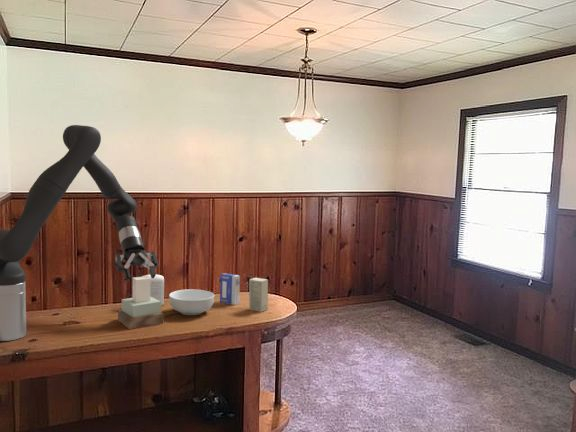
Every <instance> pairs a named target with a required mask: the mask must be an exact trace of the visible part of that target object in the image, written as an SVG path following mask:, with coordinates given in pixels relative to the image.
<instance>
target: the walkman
mask: <svg viewBox="0 0 576 432" xmlns="http://www.w3.org/2000/svg"><path fill="white" fill-rule="evenodd" d="M240 282H241V276H240V275H238V274H233V273H226V272H223V273H220V287H219V288H220V291H219V302H220V303H224V304H229V305H234V306H236V305H239V304H240V292H241V291H240V289H241V287H240V284H241V283H240Z"/></svg>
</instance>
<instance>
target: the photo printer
mask: <svg viewBox="0 0 576 432" xmlns="http://www.w3.org/2000/svg"><path fill="white" fill-rule="evenodd" d="M143 276H147V277H149V278H151V275H150V274H146V275H142V276H141V277H143ZM150 296H151V297H153V298H155V299H157V300H159V301H161V306H163V305H165V304H164V302H165V299H164V298H165V278H164V275H160V274H157V273H156V275H155V277H154V278H151V282H150Z"/></svg>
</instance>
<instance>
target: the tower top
mask: <svg viewBox="0 0 576 432" xmlns="http://www.w3.org/2000/svg"><path fill="white" fill-rule="evenodd" d="M161 307H162V305H161V301H159V300H157V299H155V298H153V297H151V296H150V301H145V302H137V303H136V302H135V301H133V300H132V297H130V298H123V299H122V298H121V309H122V311H123V312H125V313H127V314H128V315H130V316H131V317H139V316H145V315H151V314H157V313H161V312H162V308H161Z"/></svg>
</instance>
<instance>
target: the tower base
mask: <svg viewBox="0 0 576 432" xmlns="http://www.w3.org/2000/svg"><path fill="white" fill-rule="evenodd" d="M117 320H118V321H119V322H120V321H121V322H122V323H121V322H120V323H121V324H123V325H124V327H126V328H127V329H128V330H132V329H136V328H143V327H149V326H155V325H156V326H157V325H161V324H164V313H163V312H162V311H161V313H157V314H151V315H145V316H139V317H131V316H130V315H128V314H127V313H125V312H123V311H122V308H121V309H119V308H118V309H117Z"/></svg>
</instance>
